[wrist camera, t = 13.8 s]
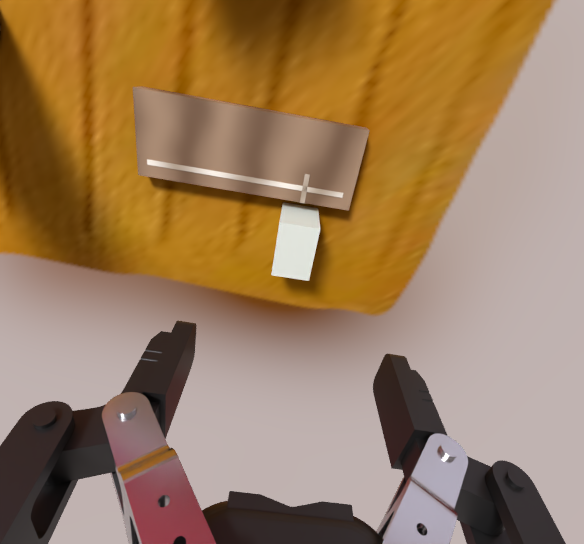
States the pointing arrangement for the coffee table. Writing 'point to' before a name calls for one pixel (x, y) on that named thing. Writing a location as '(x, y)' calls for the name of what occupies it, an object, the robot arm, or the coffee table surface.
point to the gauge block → (296, 241)
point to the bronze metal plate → (246, 148)
